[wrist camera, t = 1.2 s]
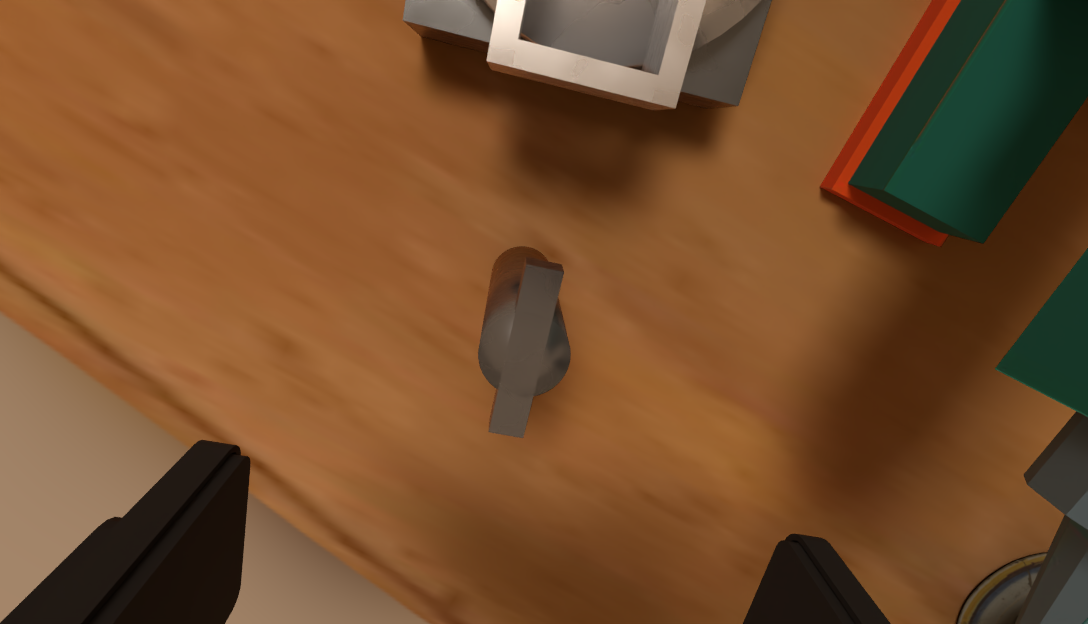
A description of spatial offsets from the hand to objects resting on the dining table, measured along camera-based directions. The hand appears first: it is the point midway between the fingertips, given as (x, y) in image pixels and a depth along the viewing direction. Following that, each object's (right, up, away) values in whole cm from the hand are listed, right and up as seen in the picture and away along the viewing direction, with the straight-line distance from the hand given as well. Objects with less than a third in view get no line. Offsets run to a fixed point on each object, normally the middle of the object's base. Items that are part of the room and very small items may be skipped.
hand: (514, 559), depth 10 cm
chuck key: (-1, +6, +18) cm, 19 cm away
